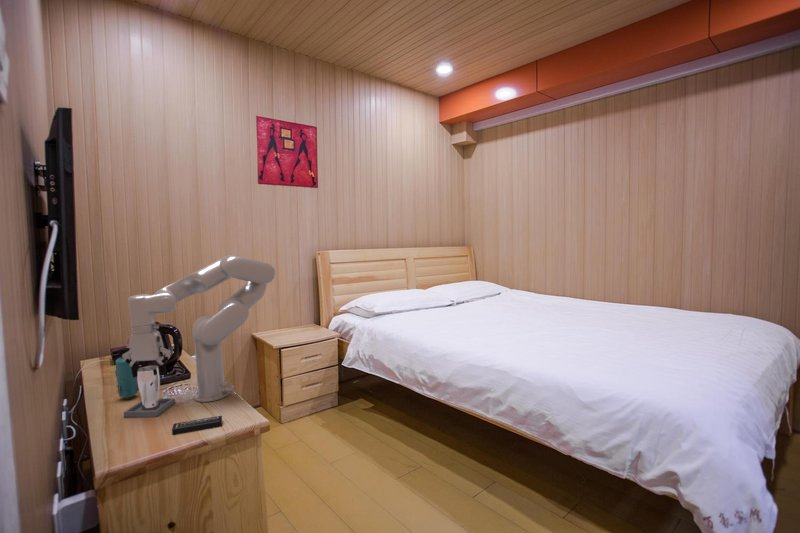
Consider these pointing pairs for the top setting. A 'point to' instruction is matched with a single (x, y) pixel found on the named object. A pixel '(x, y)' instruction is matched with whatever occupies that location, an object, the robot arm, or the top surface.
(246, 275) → the robot arm
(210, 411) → the top surface
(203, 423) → the multiport hub
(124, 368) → the beverage bottle
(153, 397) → the beer glass
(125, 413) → the tray
